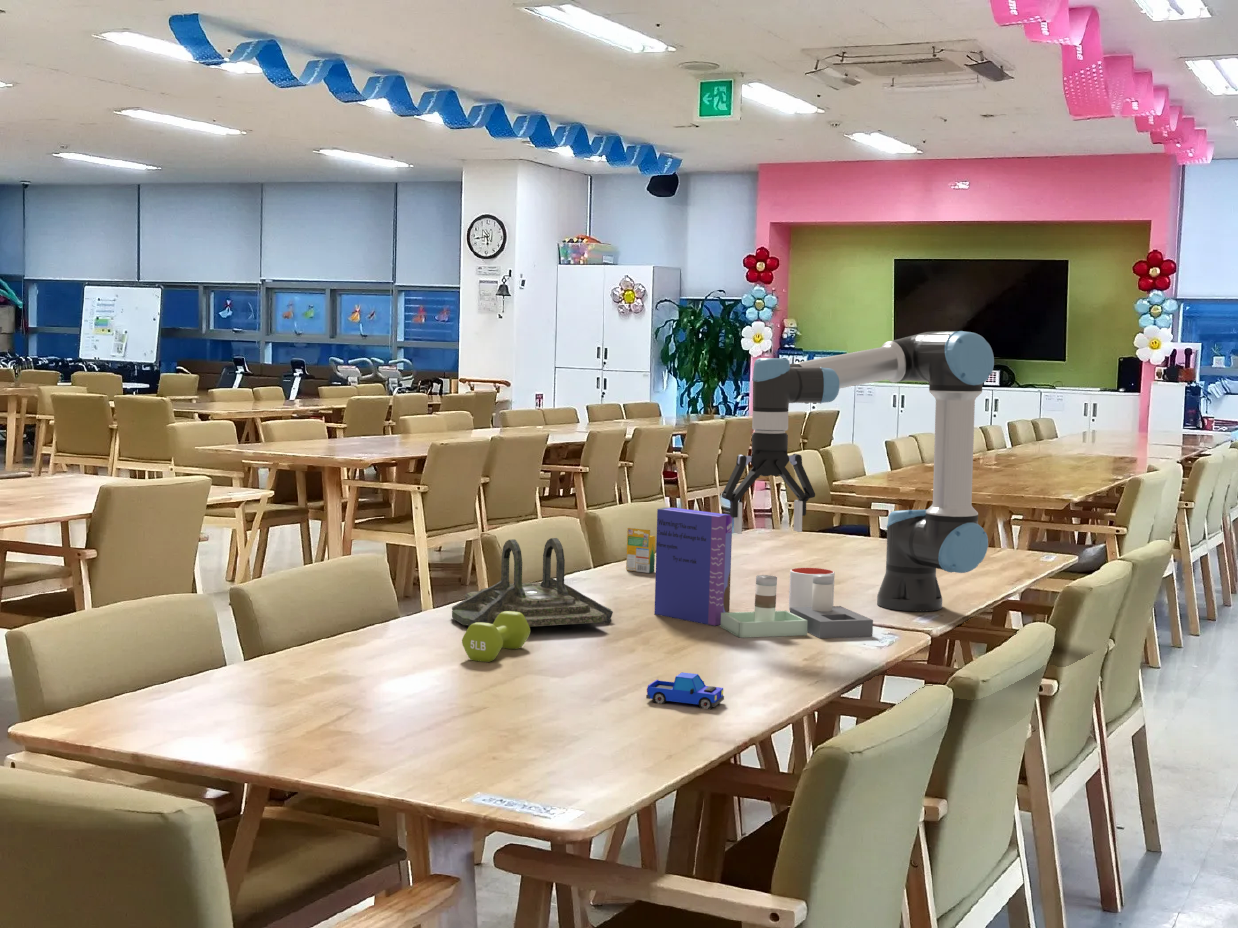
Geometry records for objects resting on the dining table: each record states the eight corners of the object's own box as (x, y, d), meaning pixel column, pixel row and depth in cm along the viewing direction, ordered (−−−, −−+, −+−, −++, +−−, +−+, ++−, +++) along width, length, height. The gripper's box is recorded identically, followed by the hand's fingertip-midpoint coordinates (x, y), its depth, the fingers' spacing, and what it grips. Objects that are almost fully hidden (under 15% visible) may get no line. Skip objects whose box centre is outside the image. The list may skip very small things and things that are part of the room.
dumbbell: (496, 665, 256) (496, 626, 255) (457, 660, 259) (458, 622, 258) (533, 648, 271) (534, 612, 270) (496, 644, 274) (497, 608, 273)
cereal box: (729, 623, 300) (732, 514, 298) (715, 626, 297) (718, 515, 295) (668, 611, 312) (671, 506, 310) (654, 614, 308) (657, 507, 306)
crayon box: (654, 572, 368) (656, 529, 367) (649, 573, 365) (650, 530, 365) (631, 569, 372) (632, 526, 371) (625, 570, 369) (626, 527, 368)
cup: (831, 620, 307) (833, 575, 307) (786, 617, 309) (788, 572, 309) (833, 611, 317) (835, 568, 316) (790, 609, 319) (791, 566, 318)
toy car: (713, 713, 226) (714, 683, 226) (644, 704, 230) (645, 675, 230) (724, 703, 232) (725, 674, 232) (657, 695, 237) (658, 667, 236)
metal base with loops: (433, 610, 308) (434, 530, 307) (573, 603, 322) (575, 526, 320) (482, 642, 276) (483, 553, 275) (635, 632, 290) (638, 547, 288)
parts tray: (786, 624, 300) (786, 610, 300) (807, 635, 290) (807, 620, 289) (720, 626, 296) (720, 612, 296) (739, 637, 285) (739, 622, 285)
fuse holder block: (839, 621, 305) (841, 572, 305) (872, 636, 290) (874, 584, 289) (789, 623, 302) (791, 573, 301) (819, 638, 287) (821, 585, 286)
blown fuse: (769, 625, 296) (772, 574, 295) (777, 629, 291) (780, 578, 290) (750, 626, 294) (752, 575, 293) (758, 630, 290) (761, 578, 289)
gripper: (817, 430, 297) (815, 528, 298) (707, 430, 290) (706, 531, 292) (832, 432, 289) (829, 532, 291) (720, 433, 282) (718, 536, 284)
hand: (767, 532), depth 291 cm, fingers open, 13 cm apart
